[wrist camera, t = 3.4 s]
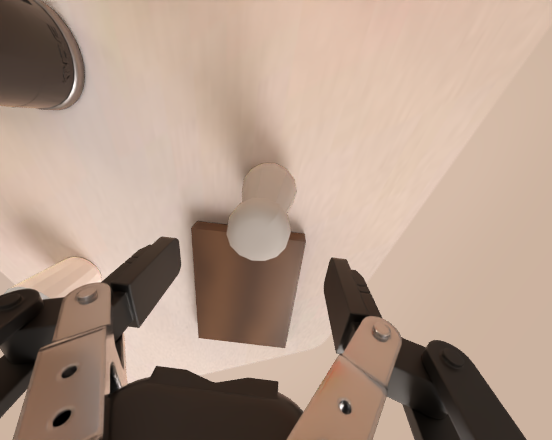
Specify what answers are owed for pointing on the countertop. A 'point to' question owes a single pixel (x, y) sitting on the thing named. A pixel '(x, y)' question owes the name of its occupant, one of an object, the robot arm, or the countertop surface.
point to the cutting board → (243, 288)
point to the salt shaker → (262, 213)
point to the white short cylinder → (61, 278)
